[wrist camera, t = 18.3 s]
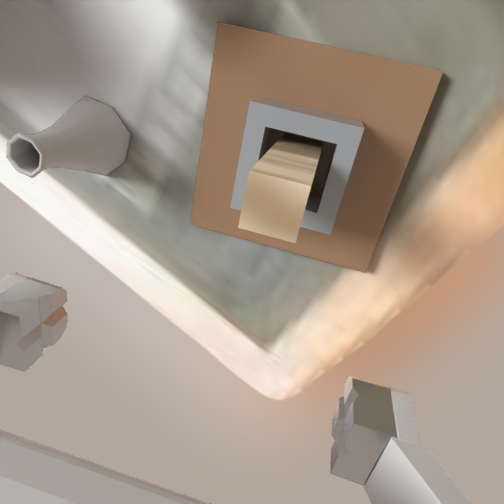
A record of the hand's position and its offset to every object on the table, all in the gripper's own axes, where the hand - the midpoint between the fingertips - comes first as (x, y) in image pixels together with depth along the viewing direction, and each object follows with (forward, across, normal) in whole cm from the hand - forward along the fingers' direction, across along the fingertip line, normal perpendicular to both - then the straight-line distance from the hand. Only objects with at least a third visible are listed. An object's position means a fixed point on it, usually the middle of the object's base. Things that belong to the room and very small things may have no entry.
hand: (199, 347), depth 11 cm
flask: (+28, +20, +3) cm, 34 cm away
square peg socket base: (+28, 0, 0) cm, 28 cm away
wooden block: (+27, 0, 0) cm, 27 cm away
